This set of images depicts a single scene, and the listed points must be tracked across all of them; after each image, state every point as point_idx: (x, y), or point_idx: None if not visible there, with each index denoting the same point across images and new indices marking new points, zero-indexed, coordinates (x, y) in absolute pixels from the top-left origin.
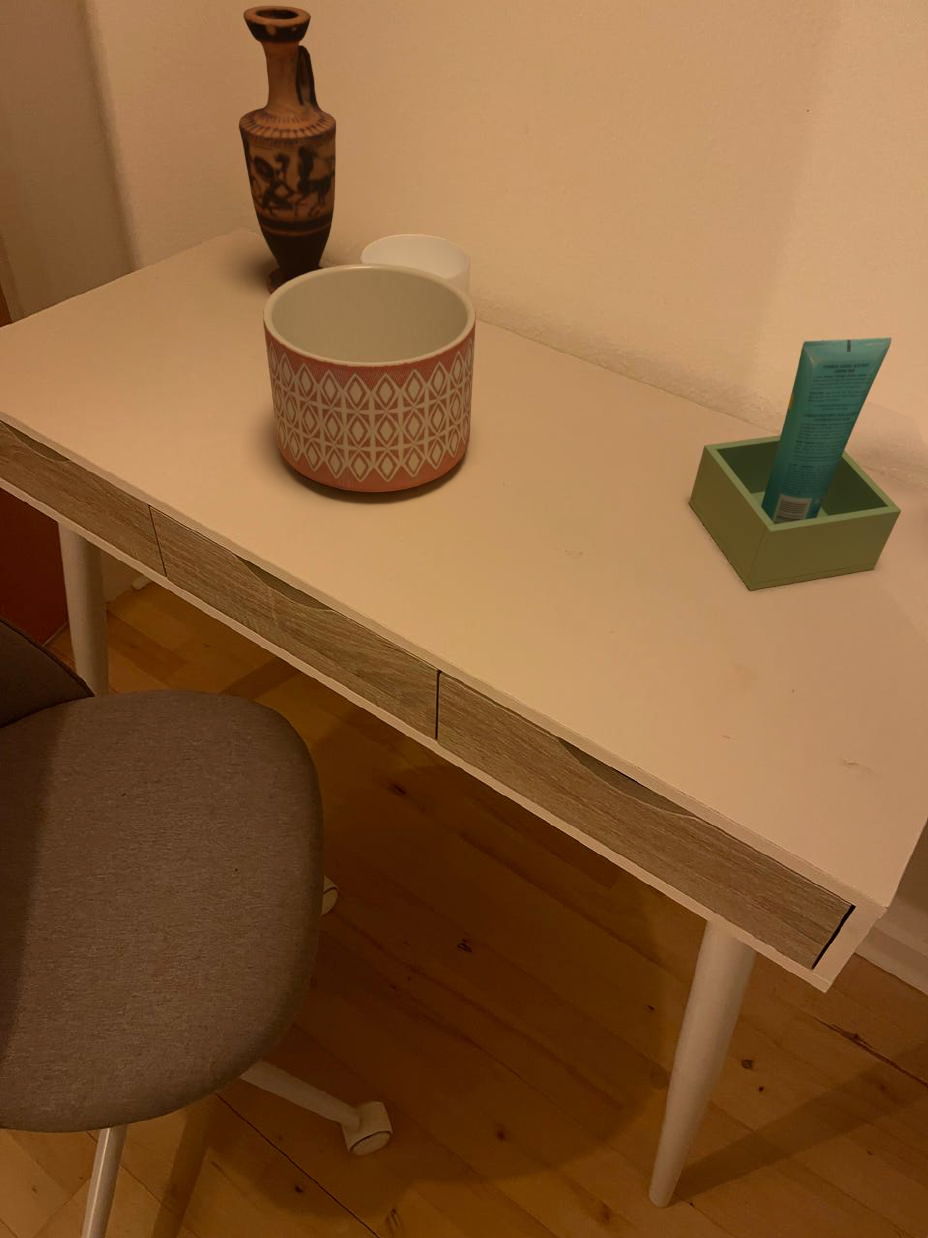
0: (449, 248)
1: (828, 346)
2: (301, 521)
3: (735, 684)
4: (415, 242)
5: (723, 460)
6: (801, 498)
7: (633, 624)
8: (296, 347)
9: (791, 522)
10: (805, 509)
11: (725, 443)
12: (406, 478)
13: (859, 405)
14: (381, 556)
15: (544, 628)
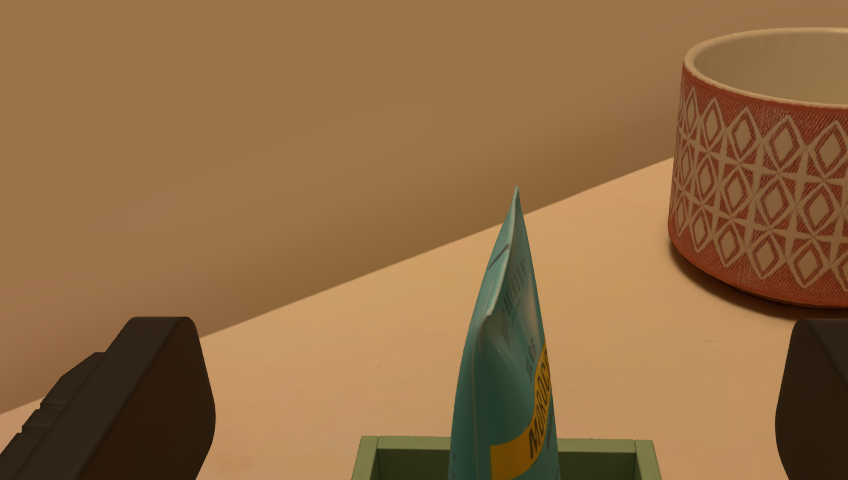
0: None
1: (504, 227)
2: (641, 205)
3: (225, 447)
4: None
5: (592, 450)
6: None
7: (380, 388)
8: (724, 37)
9: (368, 474)
10: None
11: (656, 475)
12: (674, 230)
13: (452, 434)
14: (572, 240)
15: (413, 319)
